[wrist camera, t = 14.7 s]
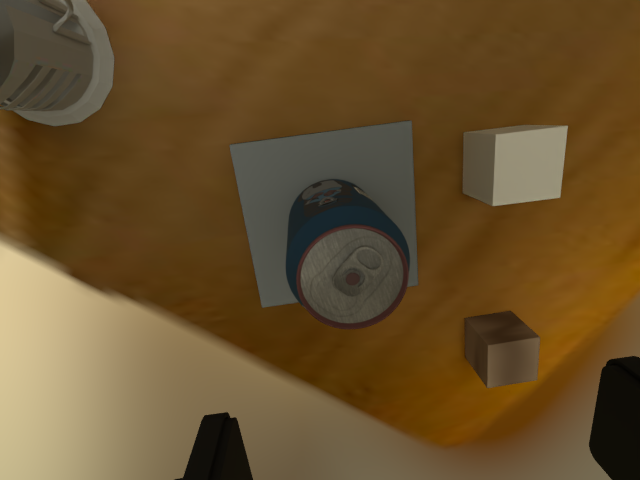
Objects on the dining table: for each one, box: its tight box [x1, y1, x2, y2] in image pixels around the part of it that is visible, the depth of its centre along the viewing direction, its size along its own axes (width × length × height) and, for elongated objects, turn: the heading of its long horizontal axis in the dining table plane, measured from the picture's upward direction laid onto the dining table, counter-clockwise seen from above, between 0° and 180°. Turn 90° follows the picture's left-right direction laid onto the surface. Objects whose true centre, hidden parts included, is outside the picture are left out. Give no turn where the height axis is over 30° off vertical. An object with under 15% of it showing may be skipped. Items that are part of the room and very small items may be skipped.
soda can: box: [286, 179, 410, 329], centre depth 24 cm, size 7×7×12 cm
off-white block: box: [463, 125, 568, 206], centre depth 27 cm, size 5×5×5 cm
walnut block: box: [465, 311, 540, 388], centre depth 33 cm, size 4×4×4 cm
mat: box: [229, 121, 418, 307], centre depth 30 cm, size 14×14×1 cm
